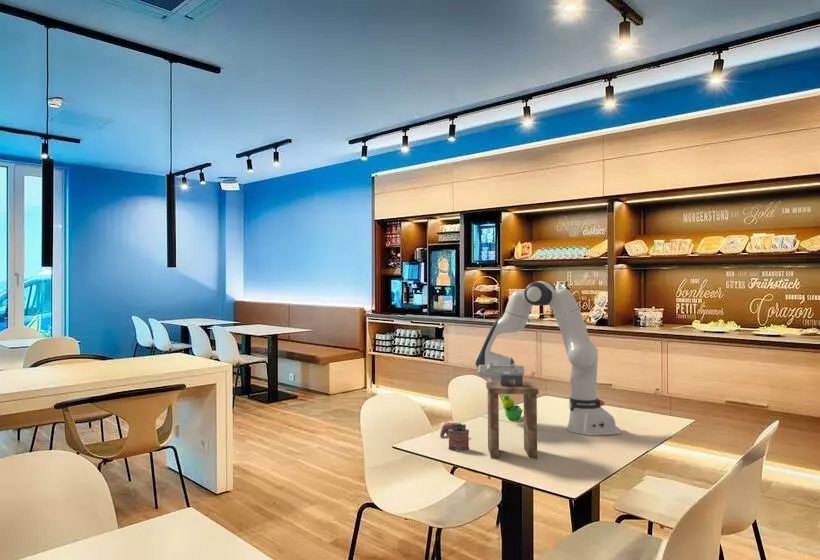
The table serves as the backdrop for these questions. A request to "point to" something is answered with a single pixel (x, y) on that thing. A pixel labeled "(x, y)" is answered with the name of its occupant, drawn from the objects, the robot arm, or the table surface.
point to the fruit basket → (511, 408)
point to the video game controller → (446, 429)
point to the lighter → (458, 437)
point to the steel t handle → (511, 379)
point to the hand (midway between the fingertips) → (502, 364)
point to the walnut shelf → (529, 416)
